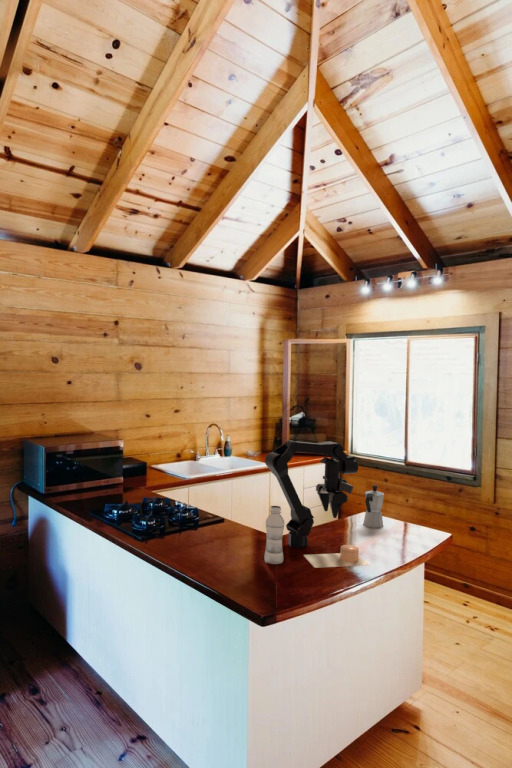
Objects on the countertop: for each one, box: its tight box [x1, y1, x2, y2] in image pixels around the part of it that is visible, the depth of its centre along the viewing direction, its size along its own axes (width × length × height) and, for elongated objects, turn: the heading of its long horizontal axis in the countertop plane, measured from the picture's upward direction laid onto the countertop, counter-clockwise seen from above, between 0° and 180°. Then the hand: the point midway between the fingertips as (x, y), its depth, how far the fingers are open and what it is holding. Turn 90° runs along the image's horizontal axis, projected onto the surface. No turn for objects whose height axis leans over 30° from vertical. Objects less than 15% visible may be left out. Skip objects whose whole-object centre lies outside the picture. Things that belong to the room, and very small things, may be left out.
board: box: [303, 552, 370, 569], centre depth 175 cm, size 20×12×5 cm, turn 103°
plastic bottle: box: [263, 505, 285, 565], centre depth 172 cm, size 6×7×20 cm
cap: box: [339, 544, 360, 563], centre depth 176 cm, size 6×6×4 cm
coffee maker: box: [363, 484, 385, 529], centre depth 223 cm, size 15×9×18 cm, turn 144°
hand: (330, 514), depth 195 cm, fingers open, 9 cm apart
